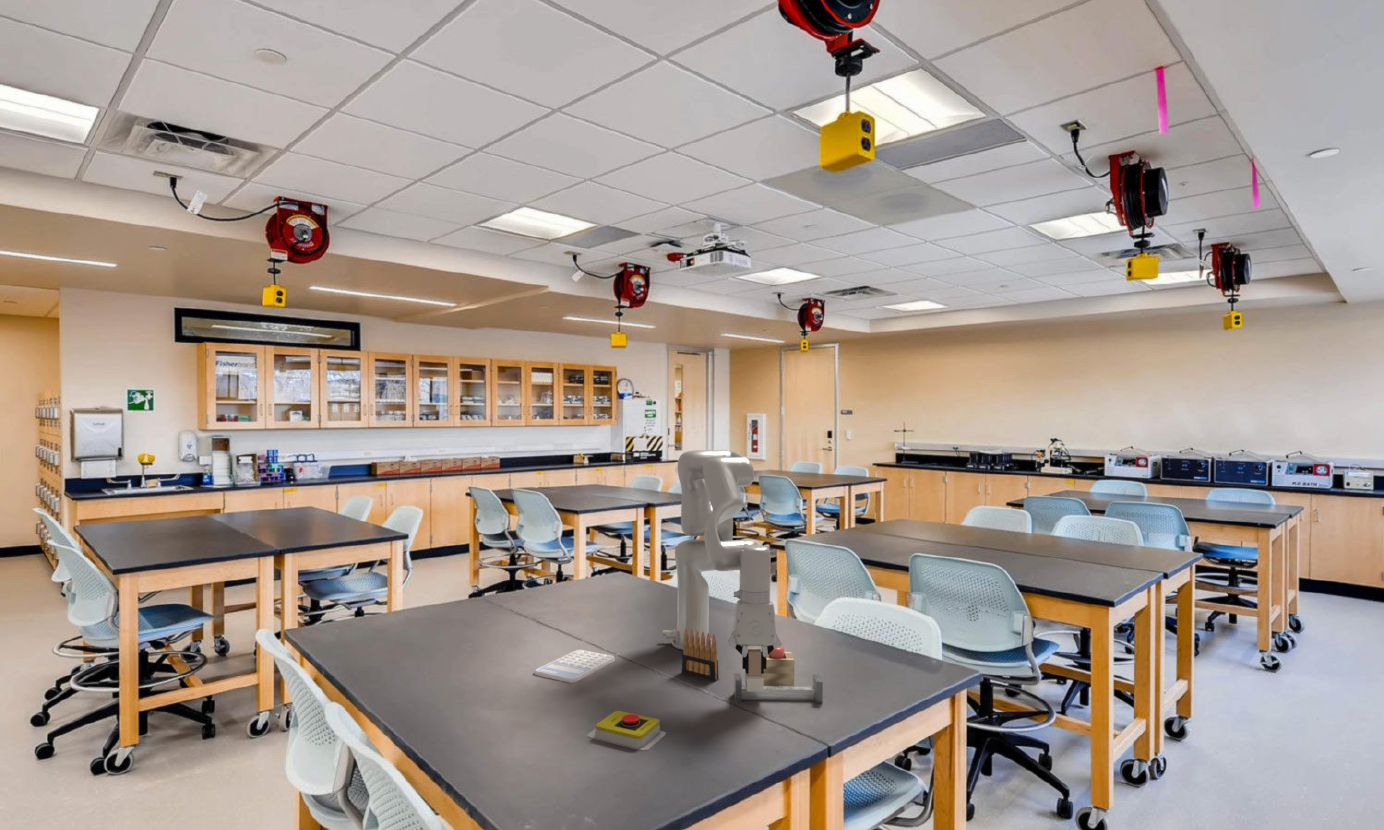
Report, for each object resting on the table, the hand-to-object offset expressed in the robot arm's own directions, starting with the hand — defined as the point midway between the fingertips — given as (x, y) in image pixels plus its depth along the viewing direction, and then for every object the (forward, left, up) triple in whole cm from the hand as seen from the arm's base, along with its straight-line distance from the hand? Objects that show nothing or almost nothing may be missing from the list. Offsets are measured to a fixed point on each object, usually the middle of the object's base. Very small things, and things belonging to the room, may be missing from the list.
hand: (754, 670), depth 168 cm
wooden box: (+7, +10, -7) cm, 14 cm away
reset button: (+7, +10, -1) cm, 12 cm away
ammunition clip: (-13, +14, -7) cm, 20 cm away
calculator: (-47, +20, -7) cm, 52 cm away
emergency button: (-29, -21, -7) cm, 36 cm away
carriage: (0, 0, -4) cm, 4 cm away
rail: (+6, 0, -7) cm, 9 cm away
